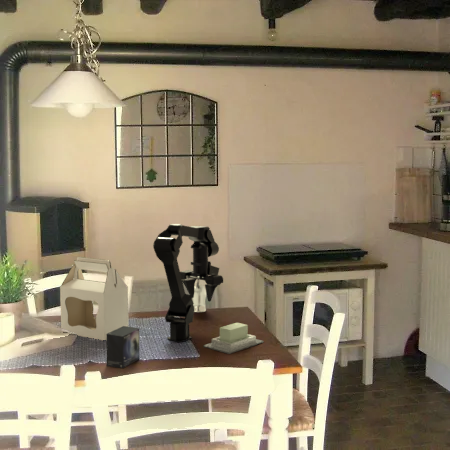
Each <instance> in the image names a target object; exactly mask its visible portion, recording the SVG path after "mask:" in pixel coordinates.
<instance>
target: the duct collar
mask: <svg viewBox="0 0 450 450" xmlns="http://www.w3.org/2000/svg"><path fill="white" fill-rule="evenodd" d="M263 343H264V340H261V339H257V336H256V335H253V334H250V333H249V334H248V338H244V339H241V340H238V341H235V342H232V343H229V342H225V341H221V340H220V336H216V337H214V338H211V342H210V343H207V344H204V345H203V347H202V348H206V349H209V350H213V351H217V352H220V353H223V354H227V355H231V354H234V353H236V352H239V351H242V350H245V349H248V348H252V347H254V346H257V345H259V344H263Z"/></svg>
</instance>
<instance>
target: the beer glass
mask: <svg viewBox="0 0 450 450" xmlns="http://www.w3.org/2000/svg"><path fill="white" fill-rule="evenodd" d="M202 278H203V277H202ZM205 284H207V283H206V282H205V280H199V279H197V280H196V281H195V283H194V298H192V300H193V303H194V304H193V306H194V313H204V312H206V311H207V308H206V299H207V298H206V297H207V294H206V288H205Z"/></svg>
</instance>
